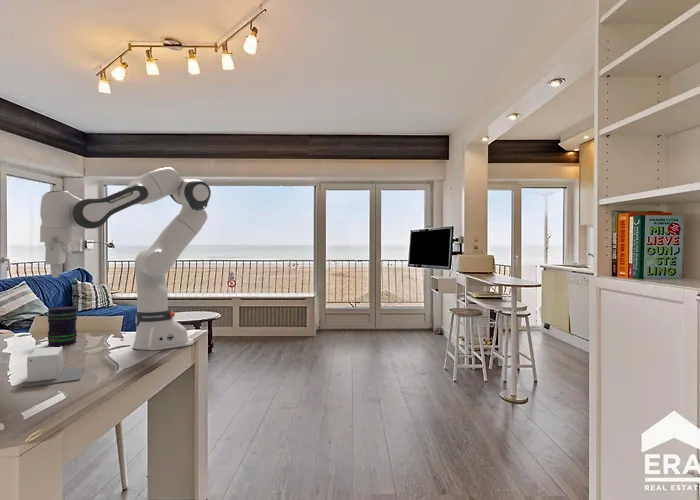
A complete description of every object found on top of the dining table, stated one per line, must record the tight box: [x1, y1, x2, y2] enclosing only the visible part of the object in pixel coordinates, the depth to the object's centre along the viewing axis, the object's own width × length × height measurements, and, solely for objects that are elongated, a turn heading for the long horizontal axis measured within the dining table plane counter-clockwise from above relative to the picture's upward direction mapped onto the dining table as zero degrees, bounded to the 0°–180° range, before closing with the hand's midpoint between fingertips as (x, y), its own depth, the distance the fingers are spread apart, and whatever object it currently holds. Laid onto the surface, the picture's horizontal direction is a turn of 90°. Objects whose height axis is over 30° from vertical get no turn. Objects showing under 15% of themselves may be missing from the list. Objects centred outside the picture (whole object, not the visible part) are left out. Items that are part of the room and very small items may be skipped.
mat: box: [23, 367, 84, 388], centre depth 124 cm, size 13×14×1 cm
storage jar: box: [47, 305, 78, 347], centre depth 169 cm, size 10×10×15 cm
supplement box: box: [26, 346, 64, 383], centre depth 125 cm, size 7×7×13 cm
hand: (55, 277), depth 142 cm, fingers closed
